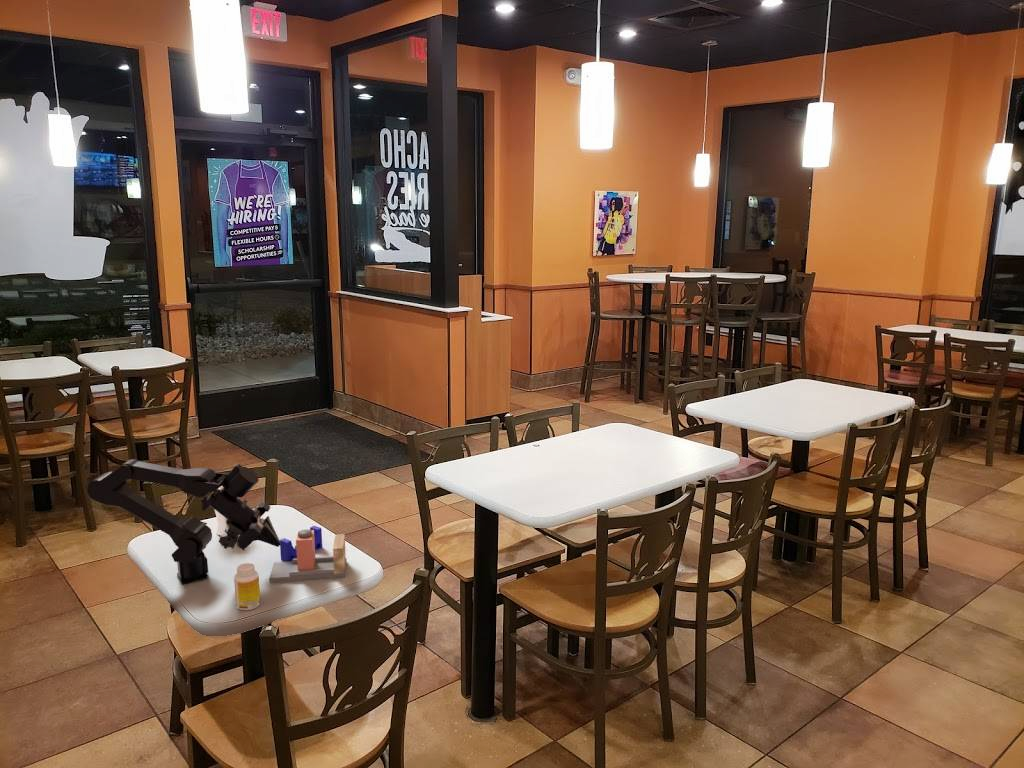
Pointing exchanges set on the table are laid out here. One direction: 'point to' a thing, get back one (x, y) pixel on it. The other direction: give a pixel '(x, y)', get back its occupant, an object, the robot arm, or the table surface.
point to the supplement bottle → (247, 587)
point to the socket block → (339, 553)
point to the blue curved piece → (289, 552)
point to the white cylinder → (221, 521)
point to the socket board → (291, 573)
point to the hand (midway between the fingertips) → (279, 545)
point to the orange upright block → (305, 550)
